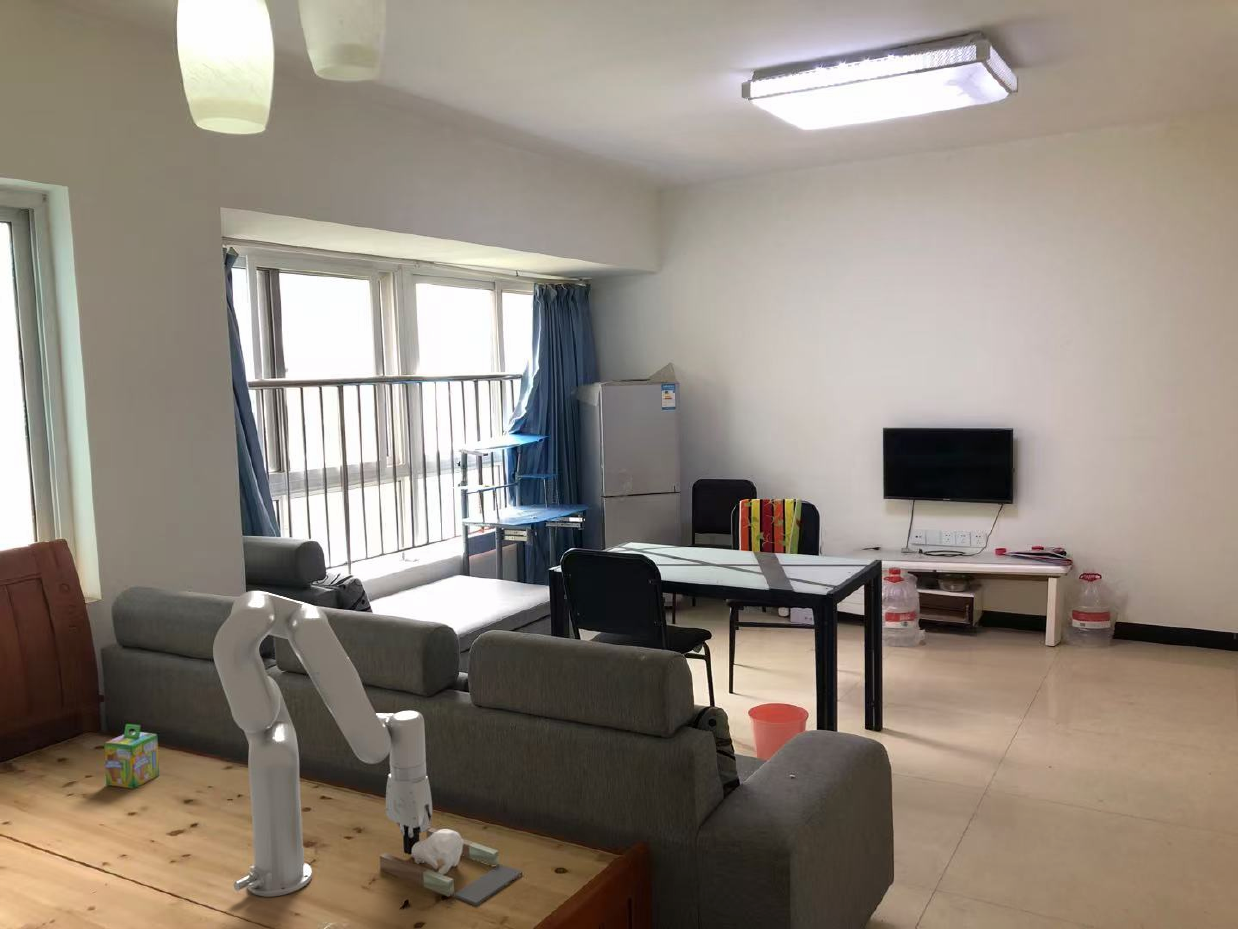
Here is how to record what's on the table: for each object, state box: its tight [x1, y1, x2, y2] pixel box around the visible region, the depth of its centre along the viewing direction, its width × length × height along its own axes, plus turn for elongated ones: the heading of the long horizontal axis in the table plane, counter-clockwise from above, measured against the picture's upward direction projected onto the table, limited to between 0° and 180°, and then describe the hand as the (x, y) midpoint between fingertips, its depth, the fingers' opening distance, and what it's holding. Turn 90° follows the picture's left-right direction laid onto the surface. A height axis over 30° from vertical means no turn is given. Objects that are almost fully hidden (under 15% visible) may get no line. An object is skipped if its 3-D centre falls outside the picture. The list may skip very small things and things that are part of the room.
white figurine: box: [411, 828, 464, 875], centre depth 202 cm, size 6×8×12 cm
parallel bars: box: [379, 827, 500, 897], centre depth 202 cm, size 15×20×3 cm
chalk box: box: [104, 723, 160, 790], centre depth 249 cm, size 9×9×15 cm
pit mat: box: [453, 863, 523, 907], centre depth 194 cm, size 14×6×1 cm, turn 146°
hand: (411, 851), depth 207 cm, fingers closed
